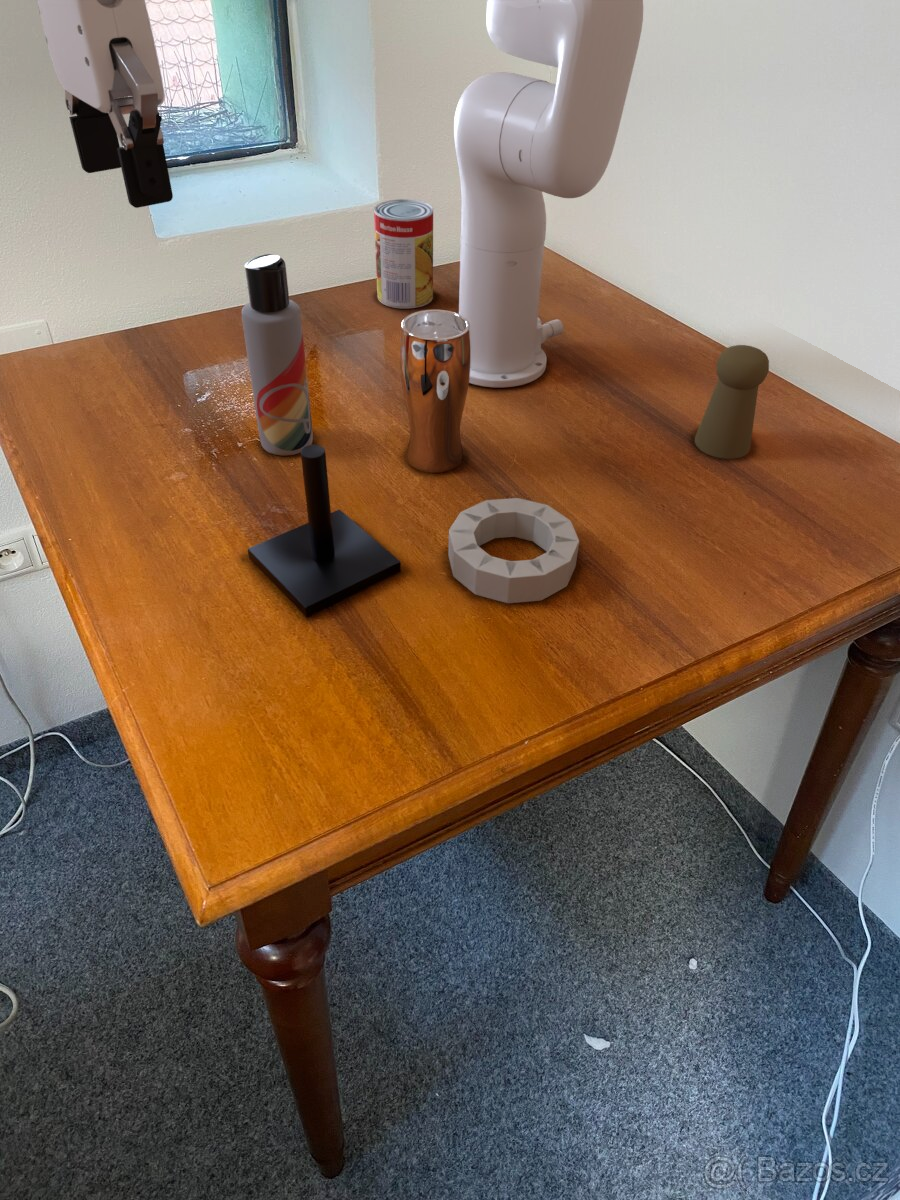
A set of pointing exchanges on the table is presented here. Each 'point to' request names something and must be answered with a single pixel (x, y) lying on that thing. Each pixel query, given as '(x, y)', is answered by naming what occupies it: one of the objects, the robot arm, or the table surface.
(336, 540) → the post
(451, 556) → the tape roll
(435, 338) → the beer glass
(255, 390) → the lotion bottle
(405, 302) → the canned food
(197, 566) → the table surface
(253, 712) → the table surface
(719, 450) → the olive pawn figure
